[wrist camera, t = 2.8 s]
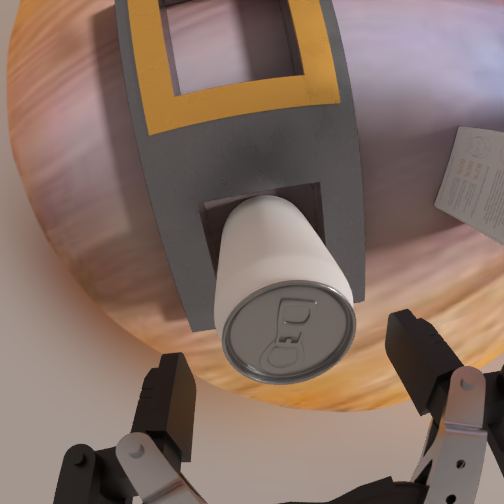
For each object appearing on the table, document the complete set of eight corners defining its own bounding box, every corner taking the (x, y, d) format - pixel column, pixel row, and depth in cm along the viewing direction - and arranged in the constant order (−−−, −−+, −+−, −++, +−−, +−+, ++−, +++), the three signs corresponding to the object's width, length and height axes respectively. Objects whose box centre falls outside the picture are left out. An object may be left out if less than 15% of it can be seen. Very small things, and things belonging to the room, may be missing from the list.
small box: (467, 224, 23) (542, 273, 13) (431, 205, 22) (515, 255, 13) (492, 150, 20) (574, 177, 10) (457, 123, 19) (550, 140, 10)
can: (217, 268, 24) (206, 386, 13) (228, 187, 21) (219, 260, 10) (297, 277, 24) (337, 390, 13) (315, 200, 22) (387, 279, 11)
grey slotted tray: (354, 285, 25) (365, 302, 22) (195, 314, 25) (192, 334, 23) (309, -32, 14) (317, -48, 11) (125, -1, 14) (112, -14, 12)
